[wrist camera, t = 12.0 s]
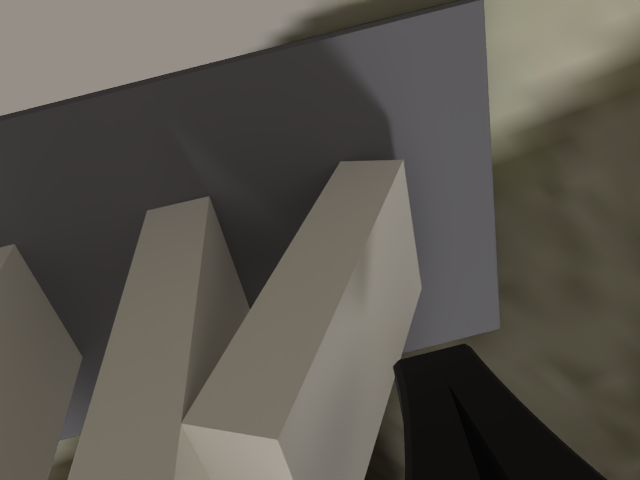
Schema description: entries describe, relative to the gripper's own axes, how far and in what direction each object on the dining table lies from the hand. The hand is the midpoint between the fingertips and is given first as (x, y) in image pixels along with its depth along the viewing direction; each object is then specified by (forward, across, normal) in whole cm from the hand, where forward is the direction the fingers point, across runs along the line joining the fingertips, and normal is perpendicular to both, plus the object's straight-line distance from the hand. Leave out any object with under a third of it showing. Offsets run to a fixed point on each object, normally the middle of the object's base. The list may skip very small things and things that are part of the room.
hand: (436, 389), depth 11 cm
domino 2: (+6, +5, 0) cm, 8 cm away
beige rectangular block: (+6, 0, 0) cm, 6 cm away
